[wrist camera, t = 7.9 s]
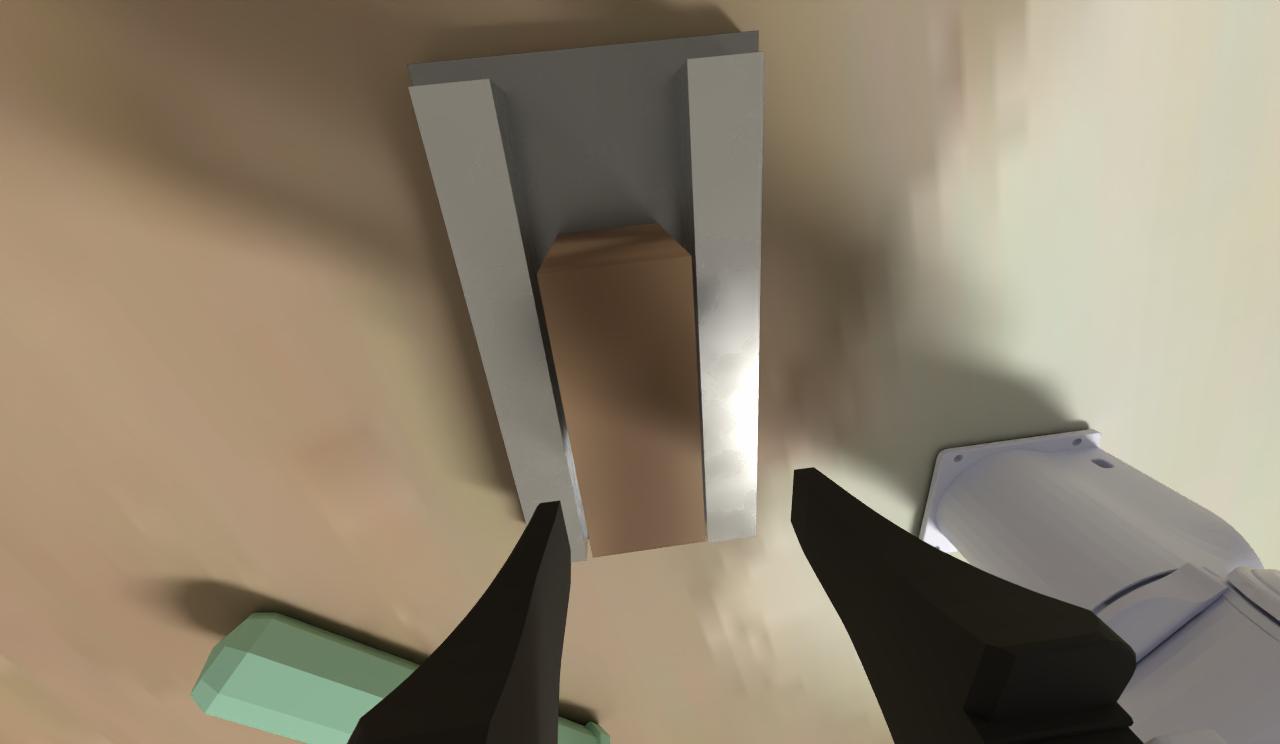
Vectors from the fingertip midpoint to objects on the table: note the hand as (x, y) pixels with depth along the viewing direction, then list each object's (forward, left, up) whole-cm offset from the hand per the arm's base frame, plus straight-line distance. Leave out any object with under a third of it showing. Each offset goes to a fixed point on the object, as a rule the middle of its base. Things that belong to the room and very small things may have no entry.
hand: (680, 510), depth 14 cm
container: (+16, +21, -10) cm, 28 cm away
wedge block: (+1, -2, -8) cm, 9 cm away
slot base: (+1, -2, -9) cm, 10 cm away
